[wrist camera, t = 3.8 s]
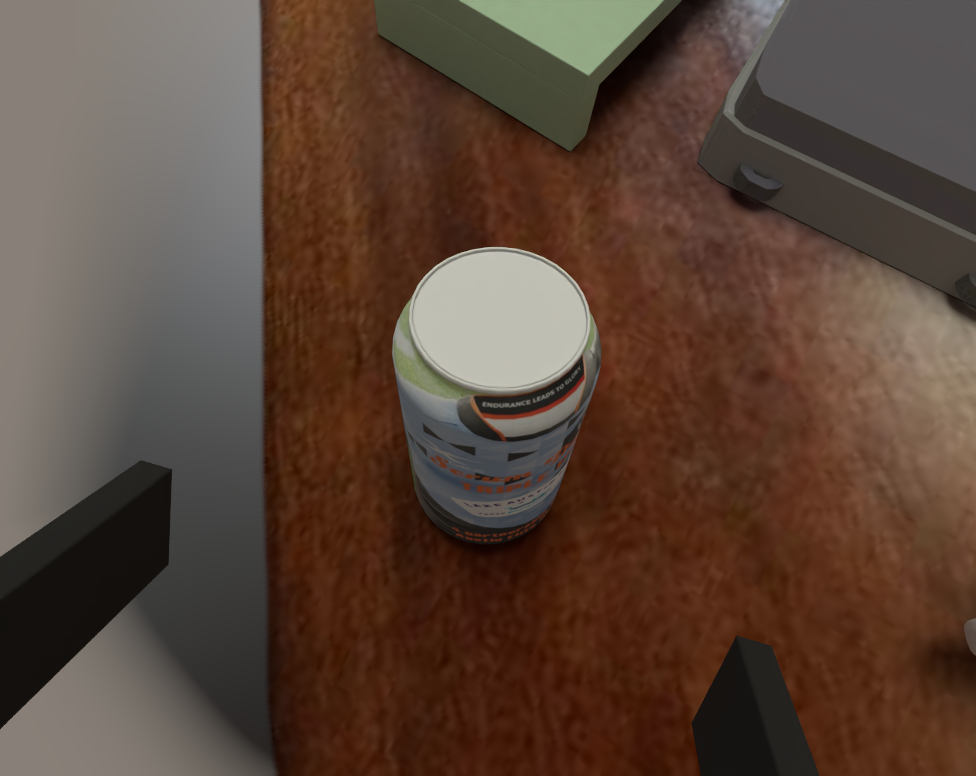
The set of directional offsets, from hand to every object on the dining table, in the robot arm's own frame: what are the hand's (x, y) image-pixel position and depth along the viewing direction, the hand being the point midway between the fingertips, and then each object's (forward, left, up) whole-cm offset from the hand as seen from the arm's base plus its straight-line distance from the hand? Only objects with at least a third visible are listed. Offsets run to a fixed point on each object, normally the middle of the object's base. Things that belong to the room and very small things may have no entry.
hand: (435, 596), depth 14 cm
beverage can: (-3, +6, -11) cm, 13 cm away
